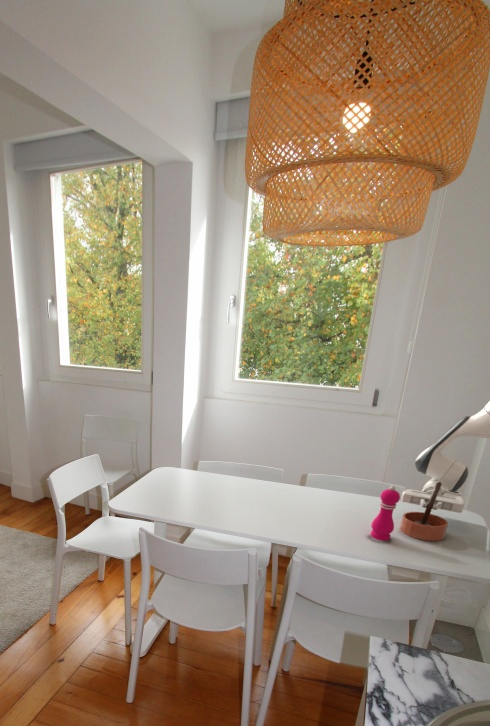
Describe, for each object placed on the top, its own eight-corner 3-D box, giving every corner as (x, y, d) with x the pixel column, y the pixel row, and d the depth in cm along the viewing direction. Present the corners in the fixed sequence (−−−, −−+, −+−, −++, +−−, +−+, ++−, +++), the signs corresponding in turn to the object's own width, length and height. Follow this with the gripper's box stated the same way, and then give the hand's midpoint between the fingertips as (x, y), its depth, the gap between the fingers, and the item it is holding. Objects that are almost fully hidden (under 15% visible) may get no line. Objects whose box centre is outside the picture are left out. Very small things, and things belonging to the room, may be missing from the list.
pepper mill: (389, 544, 164) (403, 491, 156) (367, 538, 167) (380, 486, 159) (391, 536, 170) (405, 484, 161) (370, 531, 173) (383, 480, 165)
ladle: (430, 531, 174) (450, 483, 166) (426, 534, 170) (445, 486, 162) (415, 525, 177) (433, 477, 169) (410, 528, 174) (428, 480, 165)
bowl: (445, 532, 174) (449, 517, 172) (442, 546, 163) (446, 530, 161) (402, 523, 182) (406, 509, 179) (396, 535, 170) (400, 520, 168)
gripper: (405, 483, 184) (400, 492, 173) (466, 493, 173) (464, 504, 162) (401, 498, 186) (396, 508, 175) (462, 509, 175) (460, 521, 165)
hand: (429, 506), depth 169 cm, fingers closed on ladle
